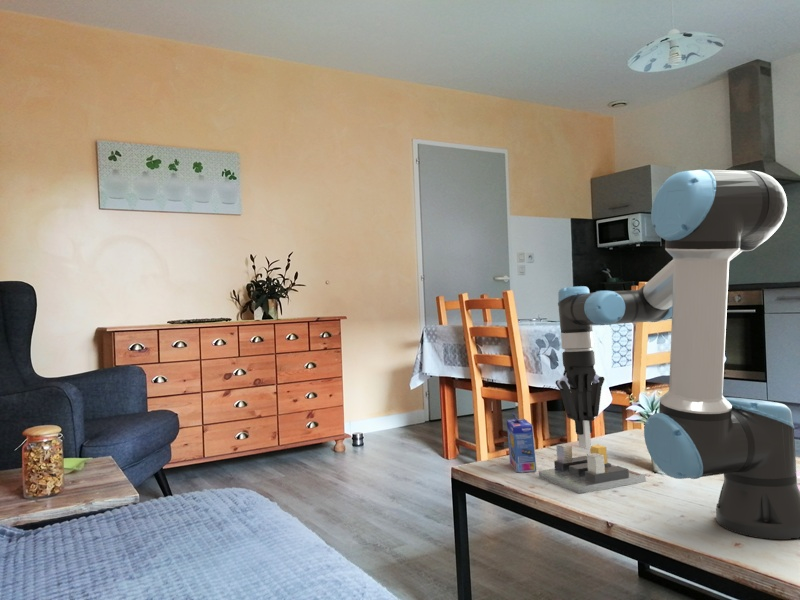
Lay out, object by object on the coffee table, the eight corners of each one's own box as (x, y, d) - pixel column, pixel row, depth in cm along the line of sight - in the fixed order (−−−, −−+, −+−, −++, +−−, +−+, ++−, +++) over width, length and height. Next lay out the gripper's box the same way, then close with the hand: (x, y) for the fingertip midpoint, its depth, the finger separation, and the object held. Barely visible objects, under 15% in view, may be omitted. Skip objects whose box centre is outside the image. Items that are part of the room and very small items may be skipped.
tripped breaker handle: (607, 463, 145) (606, 447, 145) (599, 464, 144) (598, 448, 144) (599, 460, 148) (598, 444, 148) (591, 462, 147) (590, 445, 147)
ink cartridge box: (508, 463, 164) (505, 411, 164) (528, 462, 164) (525, 410, 164) (515, 473, 154) (512, 417, 154) (537, 472, 154) (533, 415, 155)
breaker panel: (645, 481, 141) (643, 449, 141) (579, 493, 134) (577, 460, 134) (600, 466, 156) (598, 437, 156) (538, 477, 149) (537, 447, 149)
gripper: (589, 348, 151) (596, 442, 150) (546, 351, 147) (553, 448, 145) (609, 348, 144) (617, 446, 143) (564, 352, 140) (572, 453, 138)
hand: (585, 447), depth 144 cm, fingers closed
